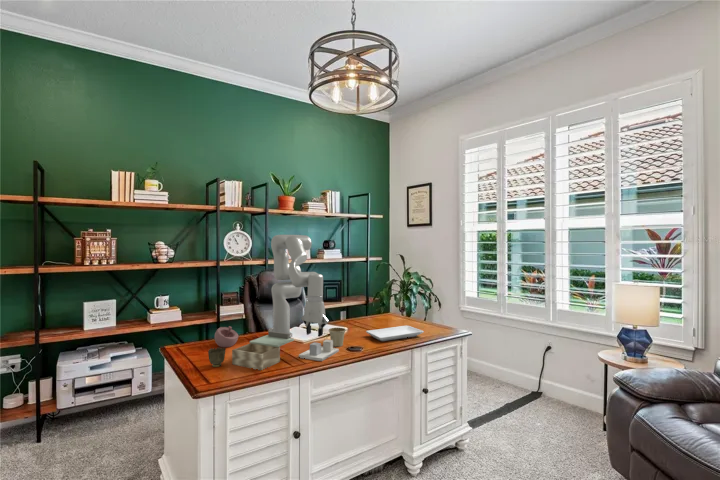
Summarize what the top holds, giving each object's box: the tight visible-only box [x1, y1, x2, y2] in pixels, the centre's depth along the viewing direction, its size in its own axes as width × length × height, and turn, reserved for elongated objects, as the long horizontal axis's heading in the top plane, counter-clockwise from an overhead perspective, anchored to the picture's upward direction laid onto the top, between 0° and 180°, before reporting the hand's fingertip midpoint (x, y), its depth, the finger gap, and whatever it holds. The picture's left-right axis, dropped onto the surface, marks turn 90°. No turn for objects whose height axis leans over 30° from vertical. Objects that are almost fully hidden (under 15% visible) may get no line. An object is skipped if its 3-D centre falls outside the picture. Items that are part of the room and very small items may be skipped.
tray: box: [365, 325, 425, 342], centre depth 221 cm, size 17×32×4 cm, turn 119°
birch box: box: [231, 343, 281, 371], centre depth 172 cm, size 17×13×7 cm
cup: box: [207, 346, 227, 368], centre depth 167 cm, size 8×7×8 cm
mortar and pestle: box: [214, 325, 239, 348], centre depth 198 cm, size 12×12×12 cm
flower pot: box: [328, 327, 347, 348], centre depth 201 cm, size 9×9×9 cm
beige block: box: [322, 339, 334, 352], centre depth 188 cm, size 4×4×5 cm
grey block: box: [309, 341, 322, 356], centre depth 183 cm, size 4×4×5 cm
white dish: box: [298, 345, 340, 362], centre depth 185 cm, size 13×17×1 cm
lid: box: [248, 331, 295, 348], centre depth 182 cm, size 17×13×3 cm
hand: (314, 334), depth 183 cm, fingers open, 6 cm apart
